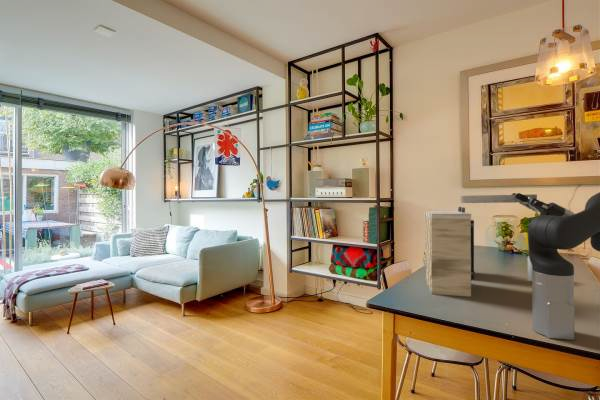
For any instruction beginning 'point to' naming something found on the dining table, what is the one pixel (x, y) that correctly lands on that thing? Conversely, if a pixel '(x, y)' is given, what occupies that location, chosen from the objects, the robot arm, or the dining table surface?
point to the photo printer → (529, 270)
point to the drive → (493, 198)
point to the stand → (448, 252)
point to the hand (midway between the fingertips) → (514, 195)
